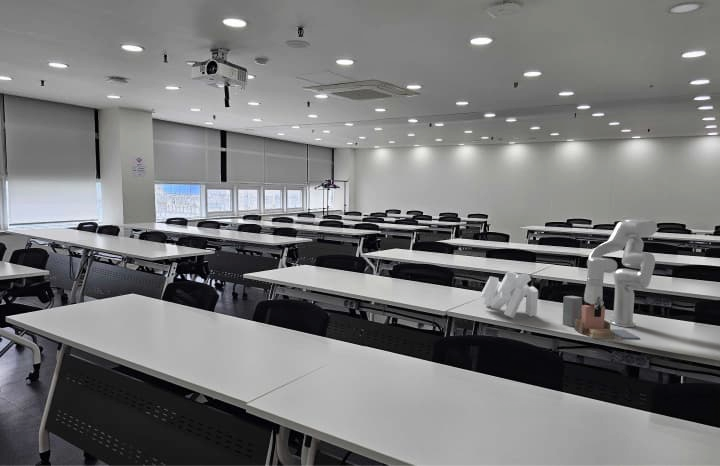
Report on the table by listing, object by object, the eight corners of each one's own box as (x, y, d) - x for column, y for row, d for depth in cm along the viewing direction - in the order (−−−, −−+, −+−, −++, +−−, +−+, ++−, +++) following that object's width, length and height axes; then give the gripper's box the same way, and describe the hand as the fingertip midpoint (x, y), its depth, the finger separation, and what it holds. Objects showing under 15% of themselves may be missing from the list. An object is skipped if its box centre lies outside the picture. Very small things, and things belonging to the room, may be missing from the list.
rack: (574, 329, 239) (575, 318, 239) (602, 330, 239) (603, 319, 239) (581, 333, 232) (581, 322, 232) (609, 334, 232) (610, 323, 232)
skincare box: (572, 327, 245) (573, 298, 243) (560, 323, 251) (562, 296, 250) (582, 325, 249) (584, 297, 247) (571, 322, 255) (572, 294, 254)
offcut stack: (587, 335, 230) (588, 328, 229) (608, 335, 230) (609, 328, 230) (591, 337, 226) (592, 330, 225) (613, 338, 226) (613, 331, 226)
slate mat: (606, 330, 239) (606, 329, 239) (623, 331, 239) (623, 329, 239) (622, 339, 225) (622, 337, 225) (639, 339, 225) (640, 337, 225)
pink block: (580, 330, 238) (582, 305, 237) (599, 331, 238) (600, 305, 237) (584, 333, 234) (586, 306, 233) (603, 333, 234) (605, 307, 233)
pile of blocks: (467, 318, 278) (475, 274, 259) (488, 293, 298) (497, 250, 279) (522, 344, 260) (535, 298, 241) (540, 316, 280) (553, 272, 261)
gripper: (579, 279, 242) (577, 310, 243) (596, 285, 225) (594, 318, 226) (593, 279, 242) (590, 310, 243) (611, 285, 225) (608, 319, 226)
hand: (592, 314), depth 235 cm, fingers open, 9 cm apart
